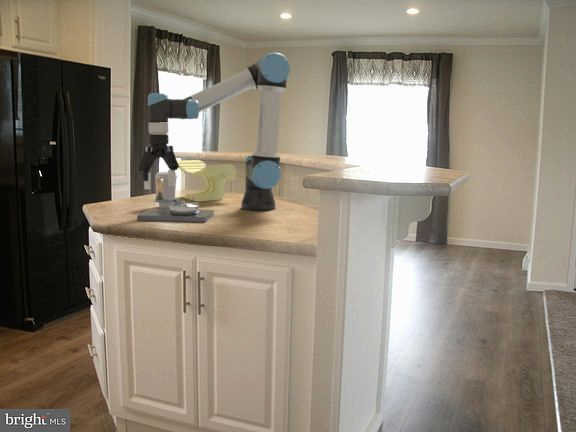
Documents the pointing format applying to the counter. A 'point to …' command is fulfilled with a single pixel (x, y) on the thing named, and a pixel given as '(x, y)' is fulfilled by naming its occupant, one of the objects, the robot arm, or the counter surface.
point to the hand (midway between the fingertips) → (159, 187)
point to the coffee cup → (166, 188)
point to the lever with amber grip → (175, 202)
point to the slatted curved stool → (208, 178)
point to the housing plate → (174, 216)
